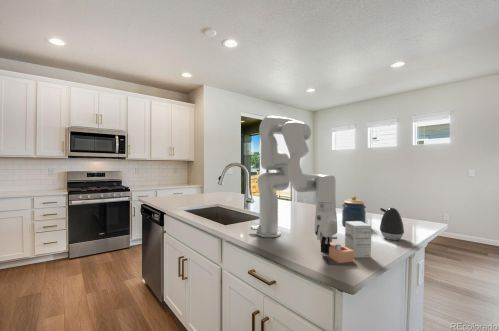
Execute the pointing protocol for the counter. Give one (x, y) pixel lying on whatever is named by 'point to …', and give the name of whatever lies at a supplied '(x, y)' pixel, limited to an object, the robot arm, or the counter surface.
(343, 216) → the canister
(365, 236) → the supplement box
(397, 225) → the pump dispenser
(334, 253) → the link
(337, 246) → the pintle station
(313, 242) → the counter surface
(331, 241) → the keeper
